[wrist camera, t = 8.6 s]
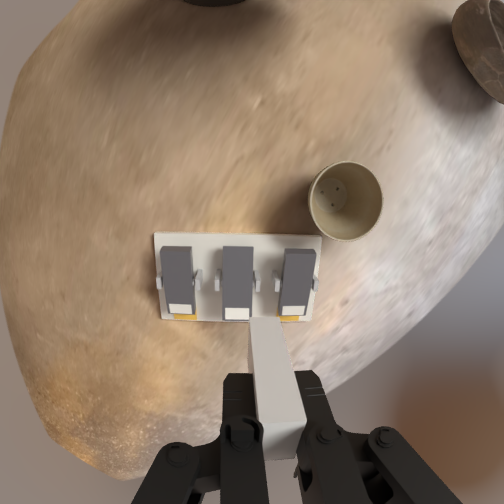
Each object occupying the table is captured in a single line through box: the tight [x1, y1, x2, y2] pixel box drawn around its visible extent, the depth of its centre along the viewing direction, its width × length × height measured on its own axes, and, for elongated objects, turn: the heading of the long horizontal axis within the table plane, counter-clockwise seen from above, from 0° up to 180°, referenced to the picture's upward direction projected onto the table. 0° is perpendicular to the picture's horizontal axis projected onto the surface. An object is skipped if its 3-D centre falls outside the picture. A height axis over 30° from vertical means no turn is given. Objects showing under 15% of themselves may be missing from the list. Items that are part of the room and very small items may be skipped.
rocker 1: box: [160, 246, 196, 315], centre depth 37 cm, size 10×4×2 cm, turn 178°
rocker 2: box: [221, 246, 254, 321], centre depth 37 cm, size 10×4×2 cm, turn 178°
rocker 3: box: [277, 248, 317, 316], centre depth 38 cm, size 10×4×2 cm, turn 178°
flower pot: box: [308, 161, 384, 242], centre depth 35 cm, size 10×10×7 cm
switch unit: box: [154, 232, 322, 322], centre depth 39 cm, size 14×24×5 cm, turn 88°
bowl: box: [452, 0, 504, 104], centre depth 23 cm, size 24×24×15 cm
